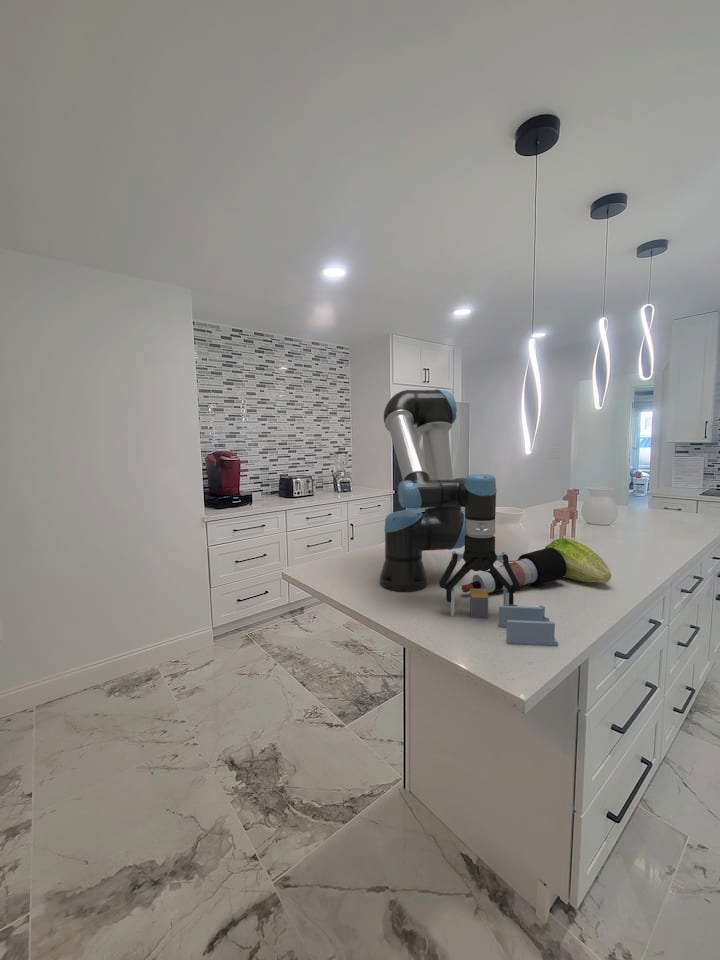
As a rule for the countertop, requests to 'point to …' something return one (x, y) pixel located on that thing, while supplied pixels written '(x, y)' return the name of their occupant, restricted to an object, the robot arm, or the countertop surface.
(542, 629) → the holder
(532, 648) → the countertop surface
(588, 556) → the lettuce
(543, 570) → the cable
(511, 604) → the clip
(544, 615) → the clip
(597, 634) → the countertop surface
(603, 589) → the countertop surface
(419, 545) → the robot arm
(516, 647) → the countertop surface
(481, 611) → the block
